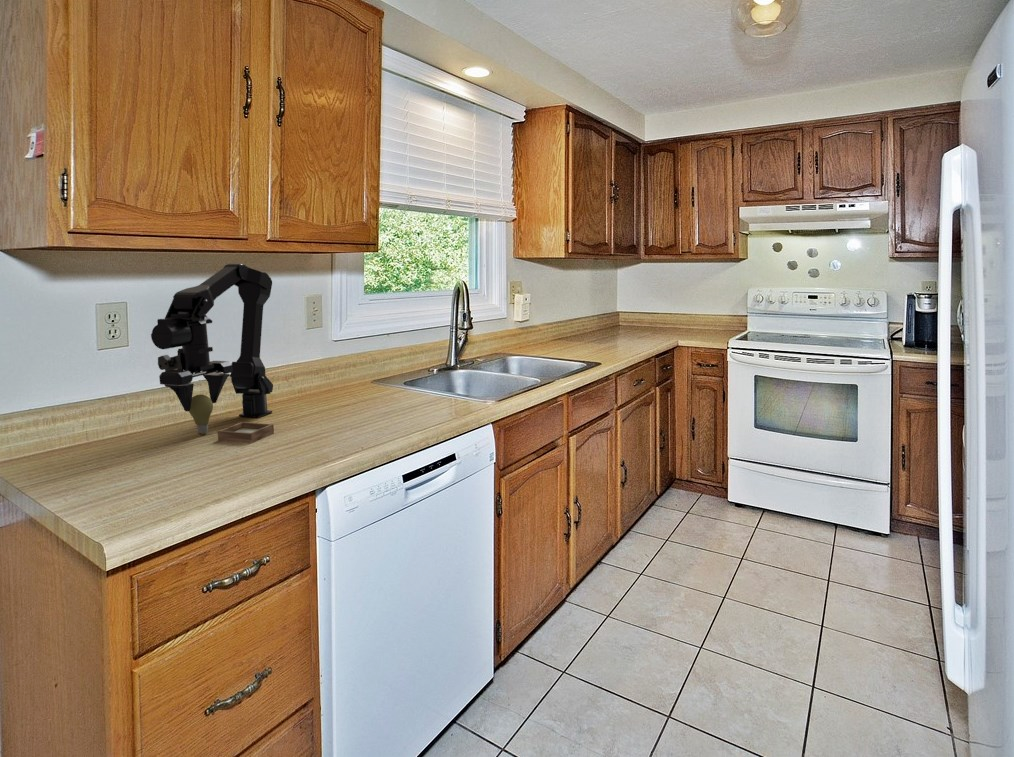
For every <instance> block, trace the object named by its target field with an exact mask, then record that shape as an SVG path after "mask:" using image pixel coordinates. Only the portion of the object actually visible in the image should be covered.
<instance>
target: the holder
mask: <svg viewBox="0 0 1014 757" xmlns="http://www.w3.org/2000/svg"><path fill="white" fill-rule="evenodd" d="M273 434H275V427H274V424H273V423H259V422H246V421H245V422H244V421H241V422H238V423H236V424H233V425H231V426H228V427H226V428H223V429H220V430H217V441H218V442H219V441H220V442H233V443H234V442H235V443H243V444H244V443H246V444H253V443H255V442H256V441H259V440H261V439H264V438H266V437H269V436H271V435H273Z"/></svg>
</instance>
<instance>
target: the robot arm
mask: <svg viewBox="0 0 1014 757" xmlns="http://www.w3.org/2000/svg"><path fill="white" fill-rule="evenodd" d="M233 286H235V287H237V291H238V292H237V293H238V295H239V297H240V299H241V301H242V303H243V310H242V311H243V312H242V324H241V325H242V326H241V327H242V328H241V342H240V352H239V353H240V354H239V357H238V359H236V361H232V362H230V361H229V360H210V352H213V351H214V350H213V346H209V338H208V328H207V325H208V324H209V325H210V324H213V320H212V319H211V318H210V317H208V315H207V314H208V313H209V311H210V310H211V309H212V308H213V307H214V306H215V300H216V299H217V298H218V297H220V296H221V295H222V294H223V293H226V292H227V291H228V290H229V289H231V287H233ZM272 287H273V280H272V278H271V276H270V275H269V274H268V273H267V272H265V271H264V272H263V271H260V270H257V269H254V268H251V267H249V266H246V264H242V263H227V264H225V265H224V266H223V268H221V269H220V270H219V271H217V272H216V273H214V274H213V275H212V276H210V277H208V278H206V280H204V281H203V282H201V283H200V284H199V285H198V284H197V285H196V286H192V287H185V289H182V290H179V291H177V292H175V293H174V295H173V297H172V298H173V299H172V300H171V304H169V305H170V306H169V308H168V310H167V312H166V315H165V316H164V318H157V321H156V322H157V324H156V325H155V326H154V327H153V328H152V331H151V334H150V338H151V341H152V343H153V344H154V346H155V347H156V348H158V349H160V350H169V349H174V348H178V347H179V348H178V349H177V350H176V351H177V355H175V356H172V357H171V356H170V355H169V354H163V355H160V356H159V357H157V365H158V368H159V369H160V370H161V371H162V372H160V374H159V376H158V377H159V385H164V387H165V388H170V389H171V390H173V392H174V393H175V394H176V396H177V398H178V400H179V403H180V405H181V406H182V408H183V410H184V411H185V412H189V411H190V408H191V402H192V397H193V393H194V392H193V391H194V386H195V385H194V383H192V381H193V379H194V378H196V377H200V376H203V377H204V379H205V381H207V383H208V384H207V386H208V393H209V398H210V399H211V400H212V403H213V404H216V403H217V401H218V400H219V397H220V394H221V392H222V390H223V388H224V385H225V383H226V382H227V379H228V377H230V381H231V384H232V386H233V390H234V392H235V394H236V395H238V394H240V395H241V398H242V399H241V400H242V401H241V405H242V413H239V414H238V416H239V417H248V418H261V417H264V416H267V415H270V414H272V413H273V410H268V403H267V402H268V401H267V398H268V397H267V395H269V394H271V393H273V388H274V384H273V383H272V381H271V380H270V379H269V378H268V377H267V375H266V367H265V365H264V363H263V361H262V359H261V343H262V332H263V331H262V330H263V329H262V328H263V316H264V315H263V314H264V306H265V304H266V302H267V301H268V299H269V298H270V297H271V294H272V293H271V292H272Z"/></svg>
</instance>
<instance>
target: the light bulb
mask: <svg viewBox="0 0 1014 757" xmlns="http://www.w3.org/2000/svg"><path fill="white" fill-rule="evenodd" d="M213 409H214V403H212V400H211V399H210V396H207V395H205V394H196V395H194V396H192V402H191V408H190V411H188V412H189V414H190V415H191V417H192V418H193V421H194V423H195V425H196V429H197V433H198V434H200V435H202V436H204V435H206V434H207V433H209V422H210V417H211V414H212V412H213Z"/></svg>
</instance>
